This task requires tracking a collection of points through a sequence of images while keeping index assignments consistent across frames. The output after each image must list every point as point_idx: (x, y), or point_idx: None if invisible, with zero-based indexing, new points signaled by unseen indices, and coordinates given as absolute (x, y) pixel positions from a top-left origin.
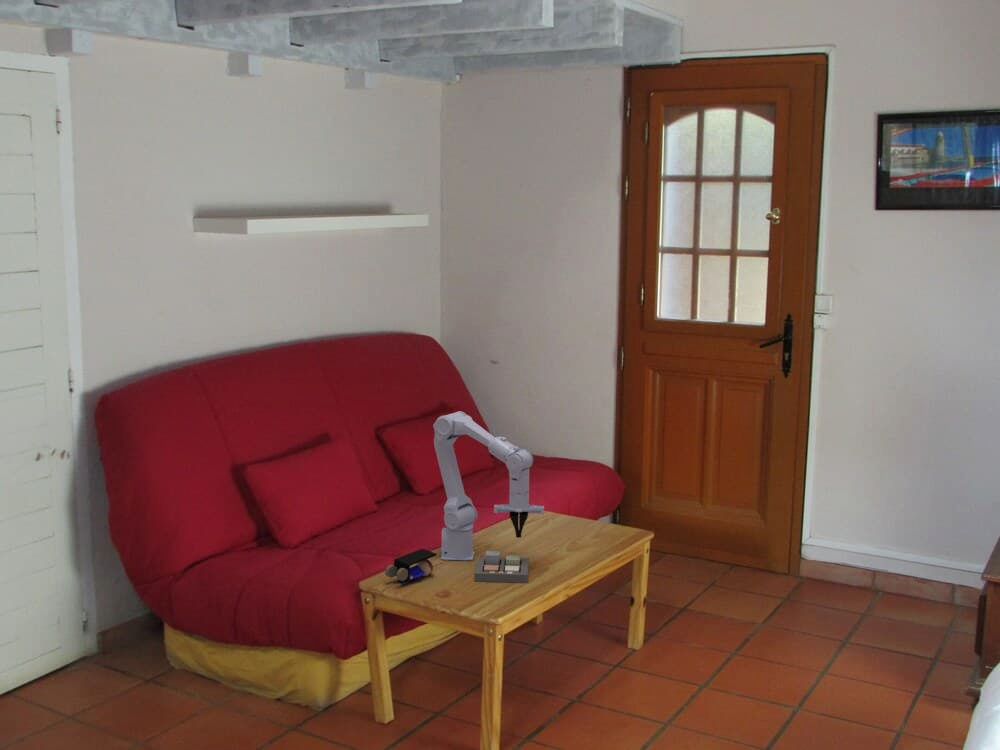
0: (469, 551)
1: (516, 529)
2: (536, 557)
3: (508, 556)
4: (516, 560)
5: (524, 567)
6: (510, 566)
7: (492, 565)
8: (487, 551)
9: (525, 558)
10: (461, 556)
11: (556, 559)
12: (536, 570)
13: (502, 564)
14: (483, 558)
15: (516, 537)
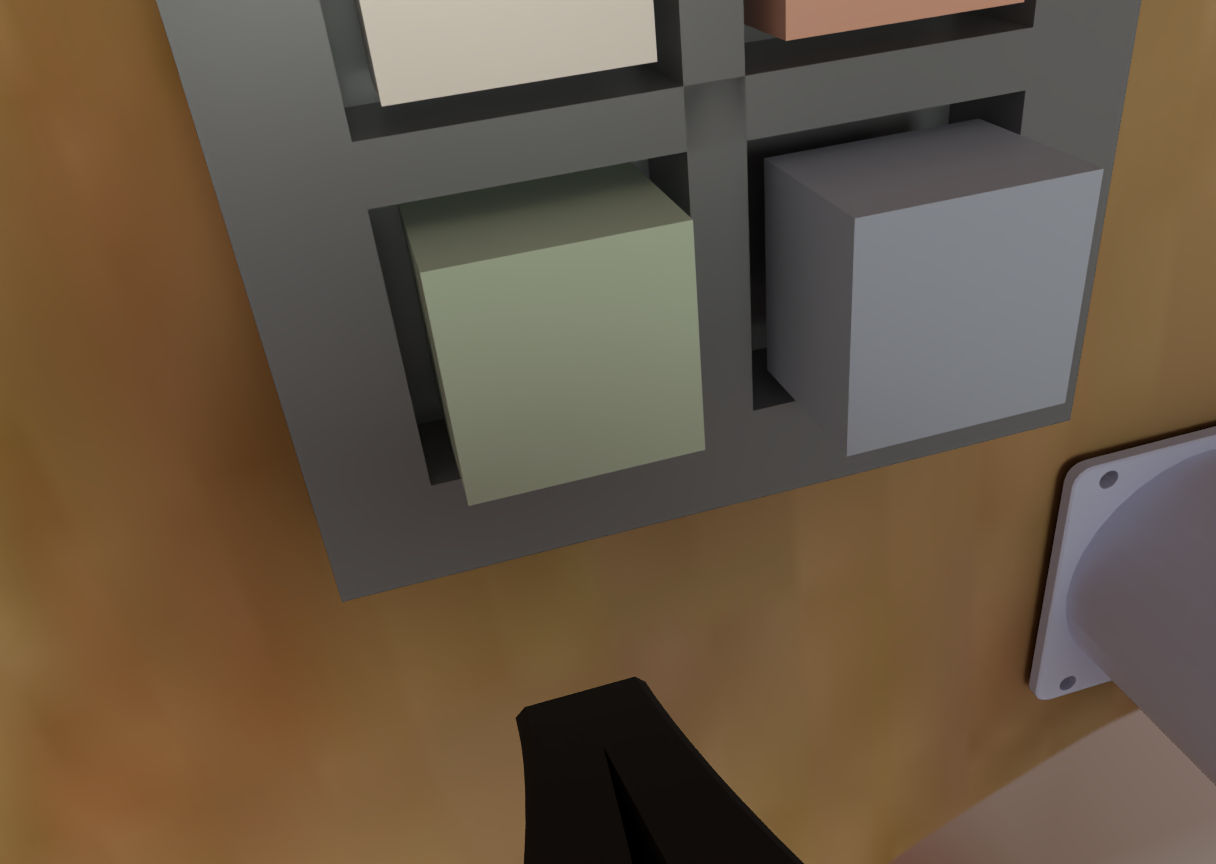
0: (1154, 564)
1: (724, 852)
2: (330, 821)
3: (665, 392)
4: (482, 254)
5: (268, 110)
6: (554, 34)
7: (895, 5)
8: (1050, 381)
9: (392, 572)
10: (1210, 470)
11: (39, 860)
12: (149, 388)
13: (718, 181)
14: None
15: (635, 677)
